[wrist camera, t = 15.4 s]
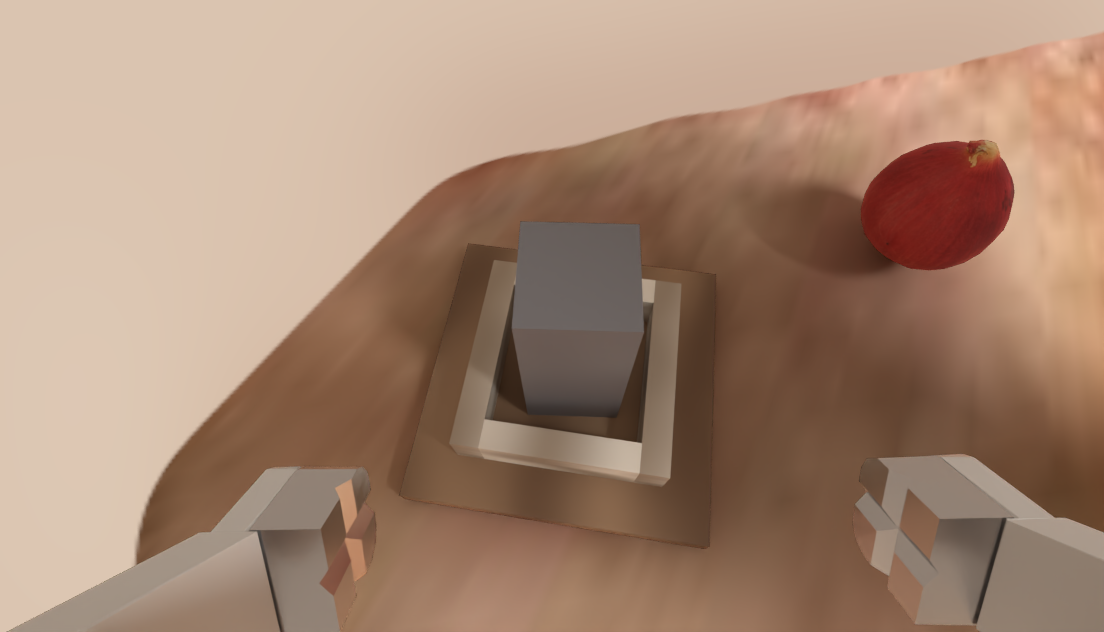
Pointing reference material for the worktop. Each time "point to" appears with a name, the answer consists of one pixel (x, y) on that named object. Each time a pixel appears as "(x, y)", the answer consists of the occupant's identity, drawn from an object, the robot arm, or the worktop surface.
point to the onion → (939, 204)
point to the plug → (577, 315)
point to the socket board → (572, 417)
